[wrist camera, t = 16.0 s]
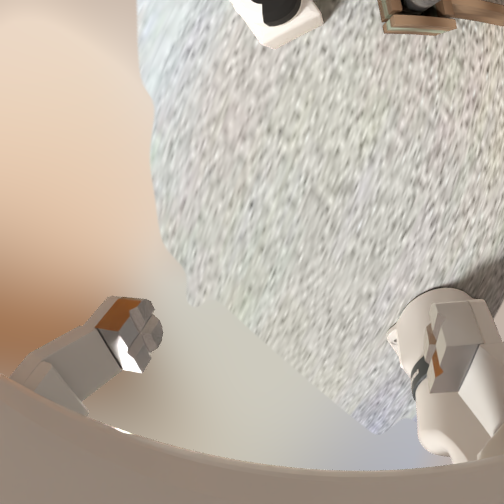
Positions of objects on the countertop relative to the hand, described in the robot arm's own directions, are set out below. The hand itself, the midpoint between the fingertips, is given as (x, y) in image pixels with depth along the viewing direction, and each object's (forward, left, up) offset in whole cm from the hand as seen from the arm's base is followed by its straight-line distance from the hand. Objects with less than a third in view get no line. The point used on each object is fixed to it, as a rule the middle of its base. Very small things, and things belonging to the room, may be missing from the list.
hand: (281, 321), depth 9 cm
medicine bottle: (+15, -2, -34) cm, 38 cm away
